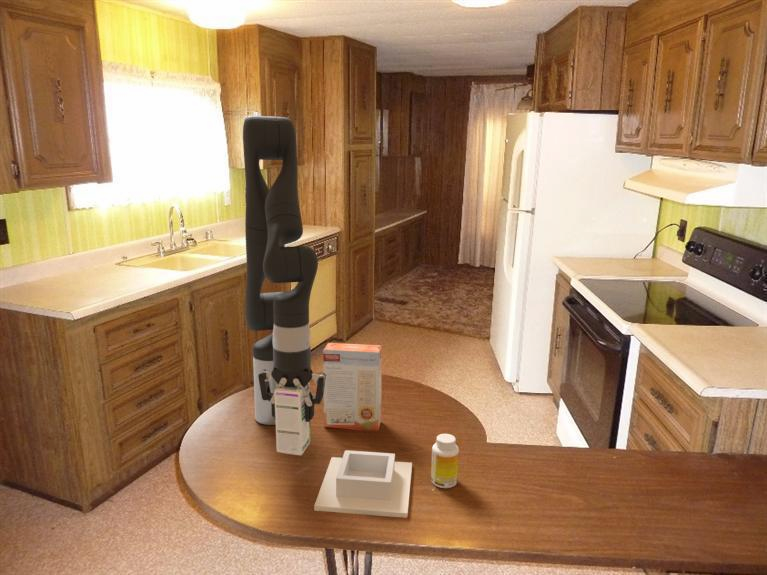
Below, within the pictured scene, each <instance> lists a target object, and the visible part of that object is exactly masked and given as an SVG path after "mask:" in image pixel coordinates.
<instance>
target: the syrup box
mask: <svg viewBox="0 0 767 575" xmlns="http://www.w3.org/2000/svg"><path fill="white" fill-rule="evenodd" d="M308 384H309V385H310V382H309V383H308ZM306 389H307V385H306V386H305V390H306ZM274 394H275V422H276V425H275V443H276V446H275V448H276V452H277V453H282V454H287V455H295V456H302V455H303V454H304V452H305V451H306V449H307V448H308V447H309V445H310V443H311V441H312V440H311V439H312V438H311V421H310V422H306V405H307V404H306V402H305V400H304V398H303V392H302V389H297V387H284V388H276V389H275V390H274Z"/></svg>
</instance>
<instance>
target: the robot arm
mask: <svg viewBox="0 0 767 575" xmlns="http://www.w3.org/2000/svg"><path fill="white" fill-rule="evenodd" d="M242 145H243V146H242V148H243V159H244V177H245V222H244V223H245V229H244V230H245V232H244V233H245V255H246V282H245V283H246V284H245V300H244V318H245V324H246V326H247V328H248V329H249V331H255V332H258V331H259V332H260V331H270V330H271V331H272V332H271V333H270V334H269V335H266V336H265V337H263V338H262V339H259V340H257V341H256V342H255V343H254V344H253V346H252V367H253V369H252V370H253V371H252V372H253V390H254V391H253V392H254V393H253V395H254V418H255V421H256V422H257V423H259V424H262V425H267V426H274V425H275V426H276V422H275V394H274V390H275V389H276V388H284V387H297V389H302V392H303V398H304V400H305V402H306V404H307V405H306V422H310V423H311V421H312V420H313V418H314V415H315V405H319V404H321V403H322V400H323V399H324V395H323V394H324V387H325V380H326V374H325V373H323V372H321V373H320V374H319V373H314V372H313V371H312V368H311V365H312V364H311V361H312V359H311V358H312V357H311V329H310V301H311V300H310V298H311V293H312V289H313V286H314V283H315V278H316V276H317V272H318V269H319V268H318V267H319V258H318V255H317V253H316V251H315V249H313V248H312V247H311V246H309V245H308V246H307V245H300V246H299V245H298V246H286V245H288V244H291V243H294V242H297V241H299V240H300V239H301V238H302V237H303V233H304V226H303V222H302V221H303V220H302V215H301V208H300V202H299V191H298V190H299V188H298V186H299V185H298V181H299V178H298V176H299V175H298V173H299V172H298V171H299V170H298V147H297V134H296V127H295V124H294V123H293V120H291V119H290V118H289V117H284V116H273V115H269V116H268V115H248V116H246V117H245V119H244V121H243V125H242ZM261 160H262V161H266V160H267V161H282V166H281V169H280V172H279V174H278V175H277V177H276V179H275V181H274V182H273V183H272V185H271V187H270V188H269V186H268V184H267V183H266V180H265V177H264V176H263V174H262V171H261V167H260V161H261ZM265 279H267V280H268V282H271V283H273V284H288V283H290V284H291V283H297V284H296V285H295V287H293V288H292V289H291V290H287V291H273V292H262V287H263V284H264V282H265ZM311 380H313V382H314V385H315V386H316V391H315V395H314V394H313V392H312V388H311V386H310V382H311ZM308 383H309V384H308ZM306 385H307V389H306V390H305V386H306Z"/></svg>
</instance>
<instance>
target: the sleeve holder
mask: <svg viewBox="0 0 767 575" xmlns="http://www.w3.org/2000/svg"><path fill="white" fill-rule="evenodd" d="M412 469H413V462H410V461H409V462H406V461H396V454H395V453H389V452H378V451H377V452H376V451H364V450H361V451H359V450H344V452H343V454H342V457H335V456H331V459H330V461H329V464H328V467H327V469H326V473H325V475H324V478H323V481H322V483H321V486H320V489H319V492H318V494H317V497H316V501H315V503H314V505H313V507H314V508H313V509H314V510H313V511H314V512H315V511H316V512H331V513H341V514H343V513H344V514H353V515H364V516H365V515H367V516H368V515H369V516H379V517H380V516H381V517H392V518H393V517H394V518H403V519H404V518H405V519H408V515H409V503H410V493H411V481H412Z"/></svg>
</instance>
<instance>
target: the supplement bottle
mask: <svg viewBox="0 0 767 575" xmlns="http://www.w3.org/2000/svg"><path fill="white" fill-rule="evenodd" d="M456 442H457V439H456V437H455V436H454V435H453V434H450V433H441V434H438V435H437V436H436V440H435V443H434V444H433V445H432V449H431V466H430V467H431V470H430V471H431V472H430V481H431V483H432V484H433V485H434V486H435V487H438V488H439V489H440V488H441V489H450V488H453V487H455V486H456V485H457V483H458V477H459V476H458V474H459V473H458V472H459V457H460V456H459V455H460V449H459V446H458V445H457V443H456Z"/></svg>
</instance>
